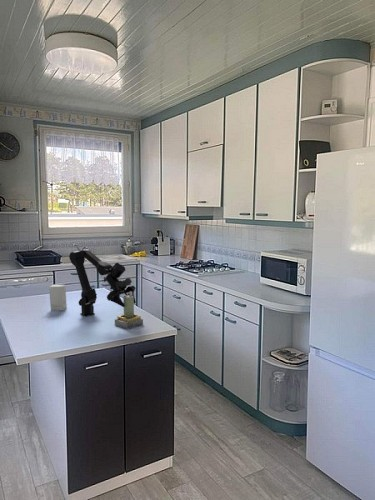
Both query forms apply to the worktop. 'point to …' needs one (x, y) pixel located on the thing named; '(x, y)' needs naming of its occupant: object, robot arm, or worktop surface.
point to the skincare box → (57, 297)
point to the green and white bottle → (128, 306)
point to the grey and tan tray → (128, 321)
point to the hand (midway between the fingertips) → (129, 304)
